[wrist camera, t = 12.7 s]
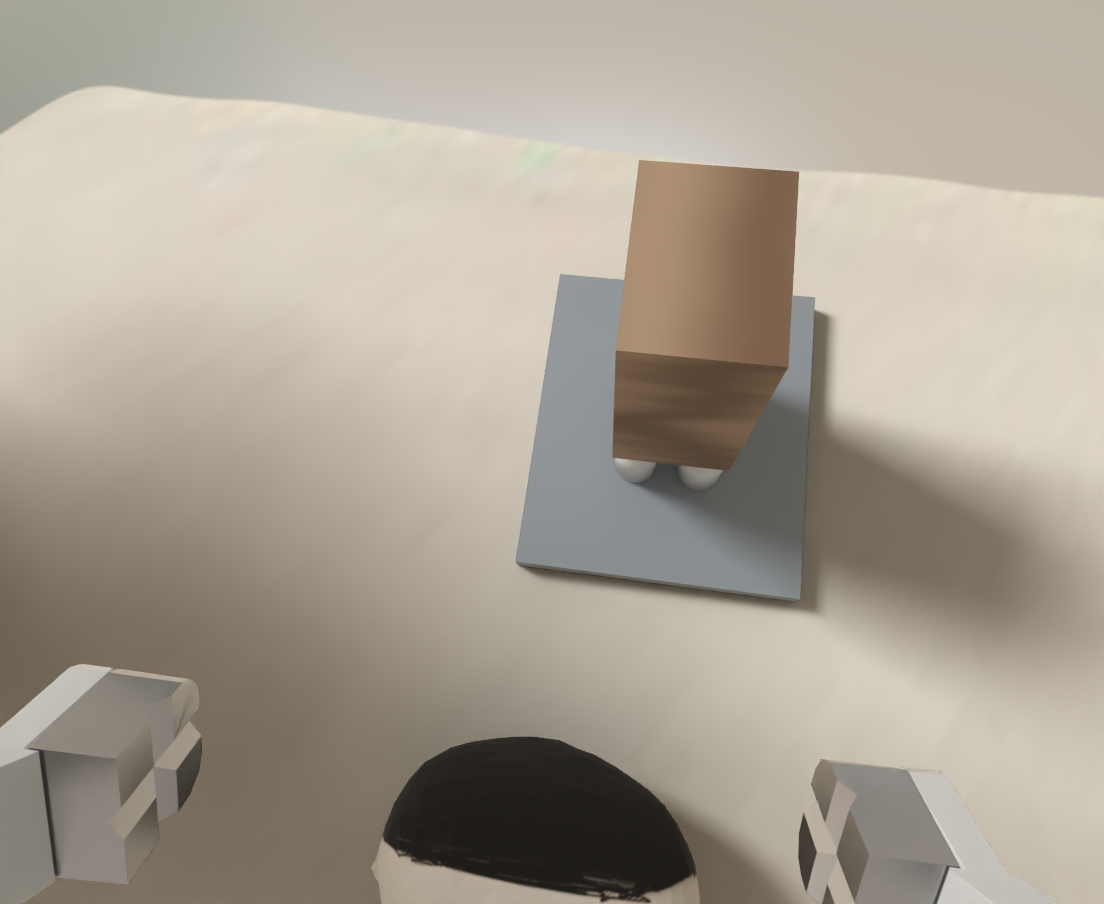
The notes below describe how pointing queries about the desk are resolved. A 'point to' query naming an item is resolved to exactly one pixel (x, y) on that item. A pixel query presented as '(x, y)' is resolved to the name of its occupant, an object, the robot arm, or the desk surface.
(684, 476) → the stand
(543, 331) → the desk surface
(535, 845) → the toy
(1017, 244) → the desk surface
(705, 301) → the block
